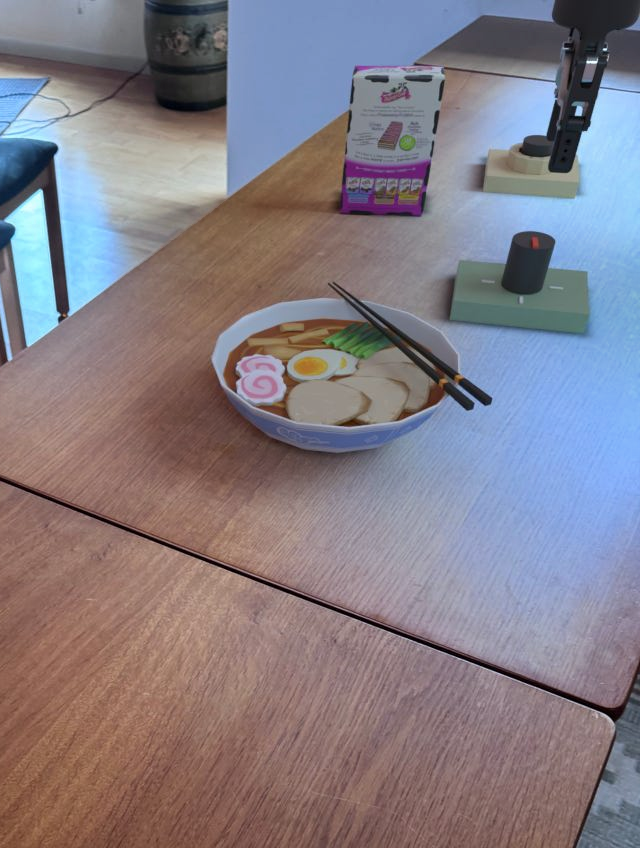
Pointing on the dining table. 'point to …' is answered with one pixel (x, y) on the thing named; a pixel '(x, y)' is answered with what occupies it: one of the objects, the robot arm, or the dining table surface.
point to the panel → (520, 299)
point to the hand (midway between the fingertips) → (557, 155)
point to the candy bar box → (390, 139)
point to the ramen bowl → (338, 372)
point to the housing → (527, 175)
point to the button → (537, 146)
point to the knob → (528, 262)
